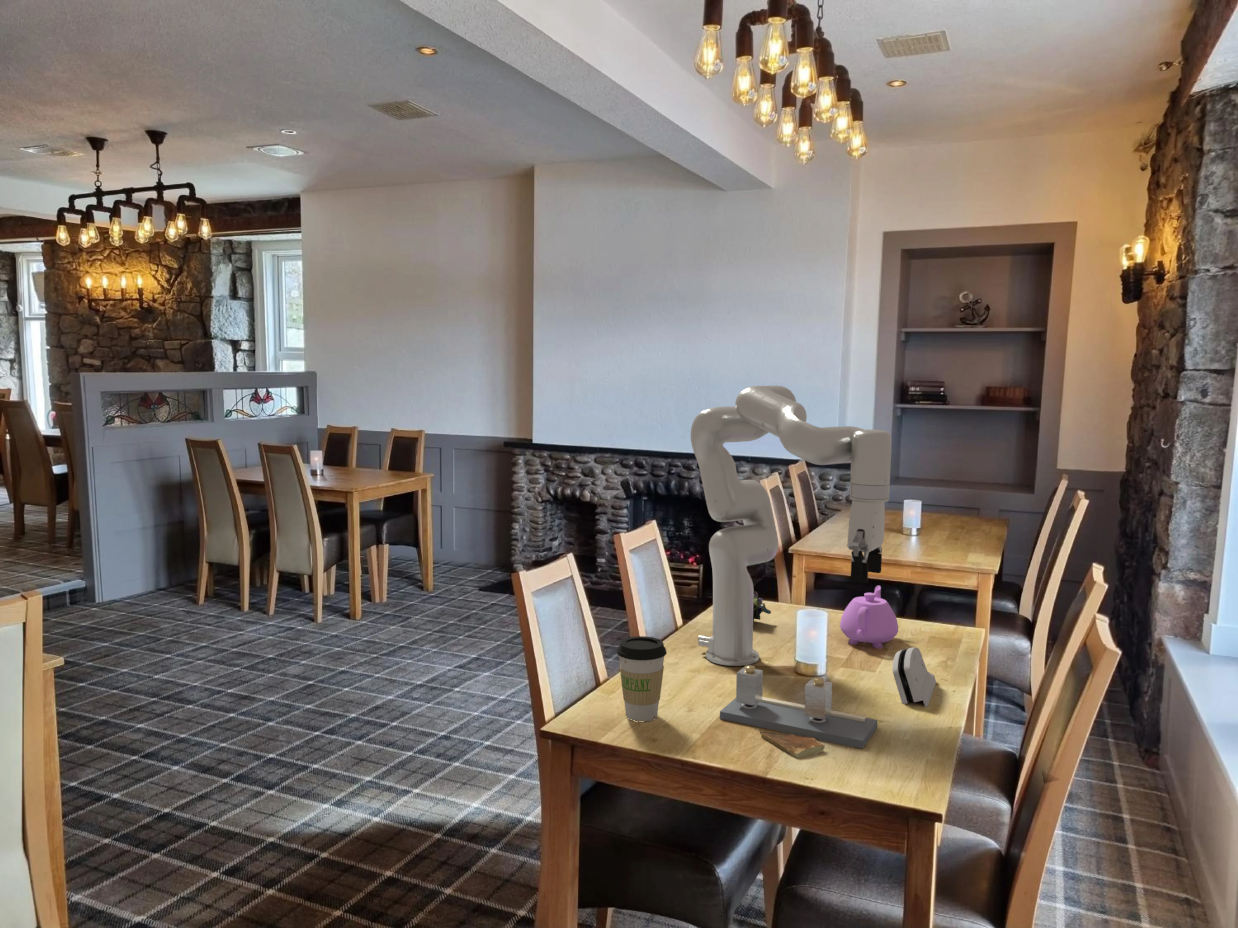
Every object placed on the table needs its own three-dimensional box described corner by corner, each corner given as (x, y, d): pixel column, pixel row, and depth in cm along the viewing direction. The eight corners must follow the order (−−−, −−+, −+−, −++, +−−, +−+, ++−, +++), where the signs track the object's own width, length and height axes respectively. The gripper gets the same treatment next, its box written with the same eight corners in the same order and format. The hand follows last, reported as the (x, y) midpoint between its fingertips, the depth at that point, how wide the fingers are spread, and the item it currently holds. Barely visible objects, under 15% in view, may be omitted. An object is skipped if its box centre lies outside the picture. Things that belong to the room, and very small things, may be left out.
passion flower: (750, 640, 241) (777, 606, 240) (742, 644, 231) (770, 609, 229) (718, 613, 245) (745, 580, 243) (709, 616, 235) (737, 581, 233)
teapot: (851, 626, 235) (852, 581, 234) (906, 634, 228) (907, 587, 227) (830, 647, 218) (832, 598, 216) (889, 656, 211) (890, 605, 209)
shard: (759, 738, 164) (759, 729, 164) (792, 731, 168) (792, 722, 168) (795, 761, 155) (795, 751, 155) (829, 753, 158) (829, 743, 158)
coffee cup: (609, 711, 177) (609, 638, 175) (653, 703, 180) (653, 632, 179) (629, 729, 168) (629, 653, 166) (674, 721, 171) (675, 646, 170)
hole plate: (719, 718, 173) (719, 708, 172) (740, 700, 182) (740, 691, 182) (862, 748, 159) (862, 737, 159) (877, 727, 168) (877, 717, 168)
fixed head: (736, 704, 175) (736, 667, 174) (743, 698, 178) (744, 662, 177) (755, 708, 173) (755, 671, 172) (762, 702, 176) (762, 665, 175)
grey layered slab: (927, 707, 178) (911, 660, 179) (904, 711, 180) (888, 664, 181) (936, 681, 193) (922, 638, 194) (915, 685, 195) (900, 642, 196)
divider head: (804, 718, 168) (805, 679, 167) (810, 711, 171) (811, 673, 170) (825, 722, 166) (825, 683, 165) (831, 715, 169) (832, 677, 168)
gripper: (863, 485, 183) (859, 566, 185) (837, 496, 168) (834, 583, 170) (899, 488, 179) (896, 570, 181) (876, 499, 164) (872, 588, 166)
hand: (866, 576), depth 175 cm, fingers open, 9 cm apart
